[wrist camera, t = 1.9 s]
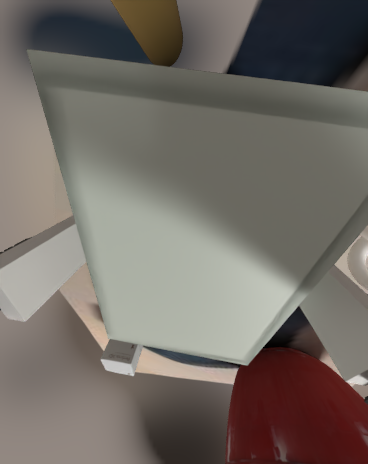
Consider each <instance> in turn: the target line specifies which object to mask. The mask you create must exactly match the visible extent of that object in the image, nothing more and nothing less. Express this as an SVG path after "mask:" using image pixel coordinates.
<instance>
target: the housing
mask: <svg viewBox="0 0 368 464" xmlns="http://www.w3.org/2000/svg"><path fill="white" fill-rule="evenodd" d="M27 53H28V57H29V60H30V64H31V68H32V71H33V75H34V78H35V81H36V85H37V89H38V92H39V96H40V99H41V103H42V106H43V110H44V113H45V117H46V120H47V124H48V127H49V131H50V134H51V138H52V142H53V145H54V149H55V152H56V156H57V159H58V163H59V166H60V170H61V173H62V177H63V180H64V184H65V187H66V191H67V195H68V198H69V202H70V205H71V209H72V212H73V216H74V219H75V223H76V226H77V230H78V233H79V237H80V240H81V244H82V247H83V251H84V254H85V258H86V262H87V265H88V269H89V272H90V276H91V279H92V283H93V286H94V290H95V293H96V297H97V300H98V304H99V307H100V311H101V314H102V318H103V321H104V325H105V329H106V332H107V336H108V339H113V340H118V341H123V342H128V343H133V344H139V345H144V346H149V347H154V348H159V349H164V350H170V351H175V352H180V353H185V354H190V355H195V356H201V357H206V358H211V359H216V360H221V361H227V362H232V363H237V364H242V365H248V364H249V363H250V362H251V361H252V360H253V358H254V357H255V356H256V355H257V354H258V353H259V351H260V350H261V349H262V348H263V347H264V346H265V344H266V343H267V342H268V341H269V340H270V339H271V337H272V336H273V335H274V334H275V333H276V332H277V330H278V329H279V328H280V327H281V326H282V325H283V323H284V322H285V321H286V320H287V319H288V318H289V316H290V315H291V314H292V313H293V312H294V311H295V309H296V308H297V307H298V306H299V305H300V304H301V302H302V301H303V300H304V299H305V298H306V297H307V295H308V294H309V293H310V292H311V291H312V290H313V288H314V287H315V286H316V285H317V284H318V283H319V281H320V280H321V279H322V278H323V277H324V276H325V274H326V273H327V272H328V271H329V270H330V269H331V267H332V266H333V265H334V264H335V263H336V262H337V260H338V259H339V258H340V257H341V256H342V254H343V253H344V252H345V251H346V250H347V249H348V247H349V246H350V245H351V244H352V243H353V242H354V240H355V239H356V238H357V237H358V236H359V235H360V233H361V232H362V231H363V230H364V229H365V228H366V226H367V225H368V92H366V91H358V90H350V89H342V88H334V87H326V86H318V85H310V84H302V83H294V82H286V81H278V80H270V79H262V78H254V77H246V76H238V75H230V74H222V73H214V72H206V71H198V70H189V69H182V68H174V67H166V66H158V65H150V64H142V63H134V62H126V61H118V60H110V59H102V58H94V57H86V56H78V55H70V54H62V53H54V52H46V51H38V50H30V49H27Z"/></svg>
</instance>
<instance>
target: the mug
mask: <svg viewBox="0 0 368 464" xmlns="http://www.w3.org/2000/svg"><path fill="white" fill-rule="evenodd" d="M360 236H361V237H360V238H359V239H358V240H357V241H356V242H355V243H354V245H353V246H352V247H351V249H350V251H349V253H348V258H347V262H348V267H349V270H350V272H351V274H352V275H353V277H354V278H355V280H356V281H357V282H358V283H359V284H360V285H362V286H363V287H364V288H365V289H367V290H368V269H367V267H366V263H365V261H366V257H367V256H368V225H367V226H366V228H365V229H364V230H363V231H362V232H361V233H360Z"/></svg>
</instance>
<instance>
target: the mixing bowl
mask: <svg viewBox="0 0 368 464" xmlns="http://www.w3.org/2000/svg"><path fill="white" fill-rule="evenodd" d="M225 464H368V405H367V404H366V403H365V402H364V399H363V398H362V397H361V396H360V395H359V394H358V393H357V392H356V391H355V390H354V389H353V388H352V387H351V386H350V385H349V384H348V383H347V382H345V380H344V379H342V378H341V377H340V376H339V375H338V374H337V373H336V372H335V371H333V370H332V369H331V368H330V367H329V366H327V365H326V364H324V363H323V362H321V361H320V360H318V359H316V358H314V357H312V356H310V355H307V354H305V353H303V352H301V351H299V350H295V349H291V348H282V347H274V348H266V349H261V350H260V351H259V353H258V354H257V355H256V356H255V357H254V358H253V360H252V361H251V362H250V363H249V364H248V365H242V364H241V366H240V367H239V369H238V371H237V375H236V378H235V382H234V386H233V391H232V396H231V402H230V409H229V418H228V428H227V439H226V459H225Z"/></svg>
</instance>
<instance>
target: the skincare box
mask: <svg viewBox="0 0 368 464" xmlns="http://www.w3.org/2000/svg"><path fill="white" fill-rule="evenodd" d="M142 347H143V345H139V344H133V343H128V342H123V341H118V340H113V339H110V340H109V342H108V344H107V346H106V348H105V351H104V353H103V355H102V357H101V361H102V363H103V365H104V367H105V369H106V370H108V371H112V372H116V373H120V374H126V375H131V376H133V375H134V373H135V370H136V367H137V363H138V360H139V357H140V354H141V351H142Z"/></svg>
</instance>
